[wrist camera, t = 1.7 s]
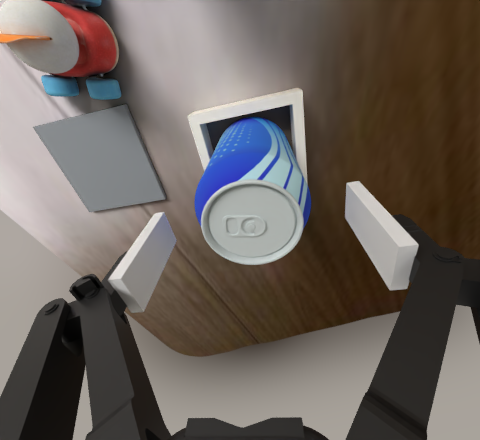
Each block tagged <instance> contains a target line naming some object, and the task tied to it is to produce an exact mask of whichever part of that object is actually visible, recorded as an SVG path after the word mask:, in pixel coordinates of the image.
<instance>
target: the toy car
mask: <svg viewBox="0 0 480 440" xmlns="http://www.w3.org/2000/svg"><path fill="white" fill-rule="evenodd" d="M64 1H65V2H66V3H67V4H62V3H57V2H52V0H7V1H6V2H5V3H4V4H3V5H2V6H1V8H0V31H1V34H0V43H6V44H7V45H8V47H9V48H10V49H11V50H12V52H13V53H14V54H15V55H16V56H17V57H18V58H19V59H20V60H22V61H23V62H24V63H26V64H27V65H29V66H31V67H32V68H35V69H37V70H39V71H42V72H46V73H49V74H52V75H44V76H42V77H41V79H42V83H43V85H44V88H45V91H46V93H47V94H49V95H51V96H77V95H79V88H78V85H77V81H76V79H75V78H74V77H87V76H88V77H89V78H88V79H87V80H86V85H87V88H88V92H89V95H90V96H91V97H92V98H93V99H100V100H108V99H118V98H120V97H121V91H120V86H119V83H118V81H117V80H115V79H108V78H97V77H95V76H97V75H100V76H103V74H104V73H107V72H110V71H111V70H113V69H114V67H115V66H116V64H117V62H118V58H119V48H118V43H117V39H116V37H115V34H114V32H113V31H112V29H111V27H110V26H109V25H108V23H107V22H106V21H105V20H104V19H103V18H101V17H100V16H99V15H97V14H96V13H94V12H92V11H88V10H87V9H86V7H85V6H88V7H98V6H100V5H101V0H64Z"/></svg>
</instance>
